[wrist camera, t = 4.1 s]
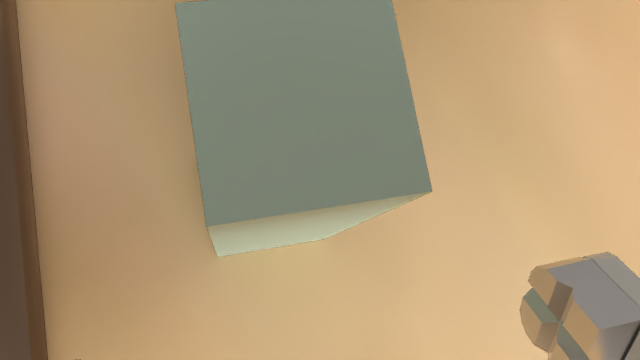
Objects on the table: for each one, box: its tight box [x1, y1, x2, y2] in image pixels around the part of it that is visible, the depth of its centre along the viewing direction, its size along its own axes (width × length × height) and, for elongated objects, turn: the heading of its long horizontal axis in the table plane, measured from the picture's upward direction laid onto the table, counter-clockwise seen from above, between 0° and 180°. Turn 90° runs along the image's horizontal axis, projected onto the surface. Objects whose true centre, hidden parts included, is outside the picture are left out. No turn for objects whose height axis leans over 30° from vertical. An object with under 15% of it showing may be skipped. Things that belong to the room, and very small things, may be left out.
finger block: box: [175, 0, 432, 257], centre depth 15 cm, size 4×4×11 cm
